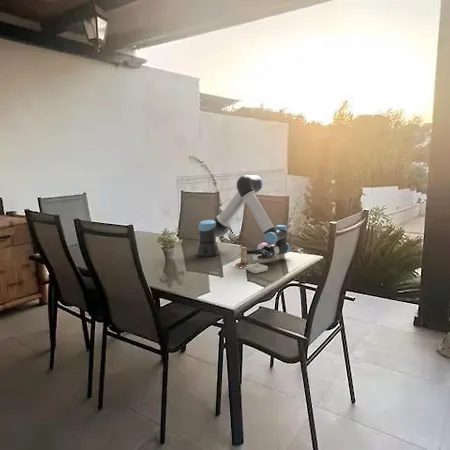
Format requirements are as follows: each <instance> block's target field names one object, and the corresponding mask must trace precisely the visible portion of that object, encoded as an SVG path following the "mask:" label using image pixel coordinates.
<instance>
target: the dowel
mask: <svg viewBox="0 0 450 450" xmlns="http://www.w3.org/2000/svg"><path fill="white" fill-rule="evenodd" d="M247 249H248V248H247V246H245V247H244V246H241V247H240V251H241V256H240V263H241V265H247V263H248V259H247V257H248V254H247Z"/></svg>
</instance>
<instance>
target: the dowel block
mask: <svg viewBox="0 0 450 450" xmlns="http://www.w3.org/2000/svg"><path fill="white" fill-rule="evenodd" d="M251 264H252V263H251V262H247V265H251ZM247 265H241V262H236V263H235V267H236V266H238V267H242V268H245V267H246V266H247ZM238 267H237V268H238ZM242 268H241V269H242Z"/></svg>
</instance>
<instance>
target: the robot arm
mask: <svg viewBox="0 0 450 450" xmlns="http://www.w3.org/2000/svg"><path fill="white" fill-rule="evenodd" d="M262 188H263V180H262V178H261V177H260V175H257V174H244V175H241V176H240V177H239V178H238V179H237V180H236V189H237V192H236V193H235V194H234V196H233V197H232V198H231V200H230V201H229V203H228V204H227V205H226V207H225V208H224V209H223V211H222V212H221V213H220V214H217V215H216V217H215V218H214V219H206V220H202V221H200V222H199V223H198V246H197V248H196V249H197V250H196V256H198V257H216V256H218V255H219V249H218V247H217V243H216V241H217V240H216V239H217V238H218V237H222V236H225V235H227V233H228V232H229V230H230V226H231V222H232V220H233V219H234V217H235V216H236V215H237V214H238V212H239V211H240V210H241V209H242V207H243V206H244V205H245V204H246V206H247V207H248V208H249V210H250V212H251V214H252V215H253V217H254V219H255V221H256V222H257V224H258V225H259V227H260V229H261V230H262V233H263V234H264V241H266V242H267V243H268V244H273V245H268V246H264V247H263V249H258V247H257V248H247V255H252V260H253V261H257V260H261V259H263V260H264V259H265V260H268V259H269V258H275V257H276V256H281V255H285V254H288V253H290V250H291V246H290V244H289V243H288V242H287V240H288V226H287V225H284V224H277V225H275V226H274V225H273V223H272V221H271V219H270V218H269V216H268V214H267V212H266V211H265V210H264V208H263V206H262V204H261V203H260V200H259V198H258V197H257V196H256V193H257V192H260V191H261V190H262ZM274 243H275V244H274ZM217 254H218V255H217ZM215 255H216V256H215ZM237 257H241V250H240V251H237Z"/></svg>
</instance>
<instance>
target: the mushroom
mask: <svg viewBox="0 0 450 450" xmlns="http://www.w3.org/2000/svg"><path fill="white" fill-rule="evenodd" d="M274 244H275V243H274ZM268 245H273V244H268V243H267V242H266V241H265V240H264V242H262V243H258V245H257V248H258V249H263V247H264V246H268Z"/></svg>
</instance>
